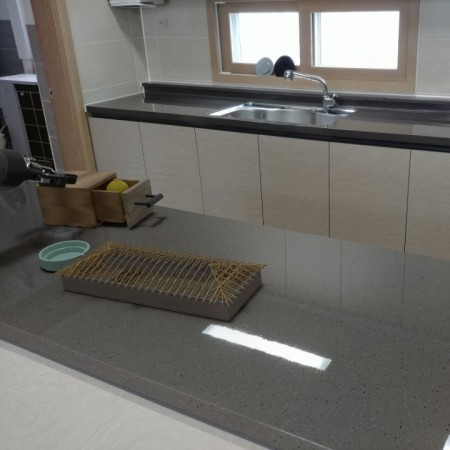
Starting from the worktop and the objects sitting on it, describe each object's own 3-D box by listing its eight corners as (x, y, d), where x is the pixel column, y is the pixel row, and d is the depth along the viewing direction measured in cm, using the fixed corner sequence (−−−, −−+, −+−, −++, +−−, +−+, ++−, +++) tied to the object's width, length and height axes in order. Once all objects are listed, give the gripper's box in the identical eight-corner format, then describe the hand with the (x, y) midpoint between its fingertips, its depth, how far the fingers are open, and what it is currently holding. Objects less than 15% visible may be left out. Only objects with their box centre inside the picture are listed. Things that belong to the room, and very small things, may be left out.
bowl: (30, 270, 104) (27, 259, 103) (61, 249, 112) (59, 238, 111) (73, 274, 101) (70, 262, 100) (101, 253, 110) (99, 242, 109)
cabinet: (122, 209, 132) (116, 172, 129) (95, 228, 122) (87, 188, 118) (74, 206, 136) (67, 170, 132) (44, 224, 125) (35, 185, 122)
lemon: (138, 209, 126) (133, 177, 123) (120, 217, 122) (114, 184, 119) (122, 206, 129) (117, 174, 126) (104, 213, 125) (97, 181, 122)
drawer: (170, 210, 128) (166, 179, 125) (149, 227, 119) (143, 194, 116) (108, 206, 132) (102, 176, 129) (83, 222, 123) (76, 190, 120)
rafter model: (56, 291, 96) (49, 260, 93) (109, 256, 108) (104, 228, 106) (230, 325, 84) (227, 291, 81) (268, 281, 96) (266, 251, 94)
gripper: (21, 161, 101) (89, 167, 116) (-24, 137, 106) (46, 146, 121) (12, 198, 102) (80, 200, 117) (-33, 172, 108) (38, 177, 122)
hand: (62, 172), depth 119 cm, fingers open, 8 cm apart
